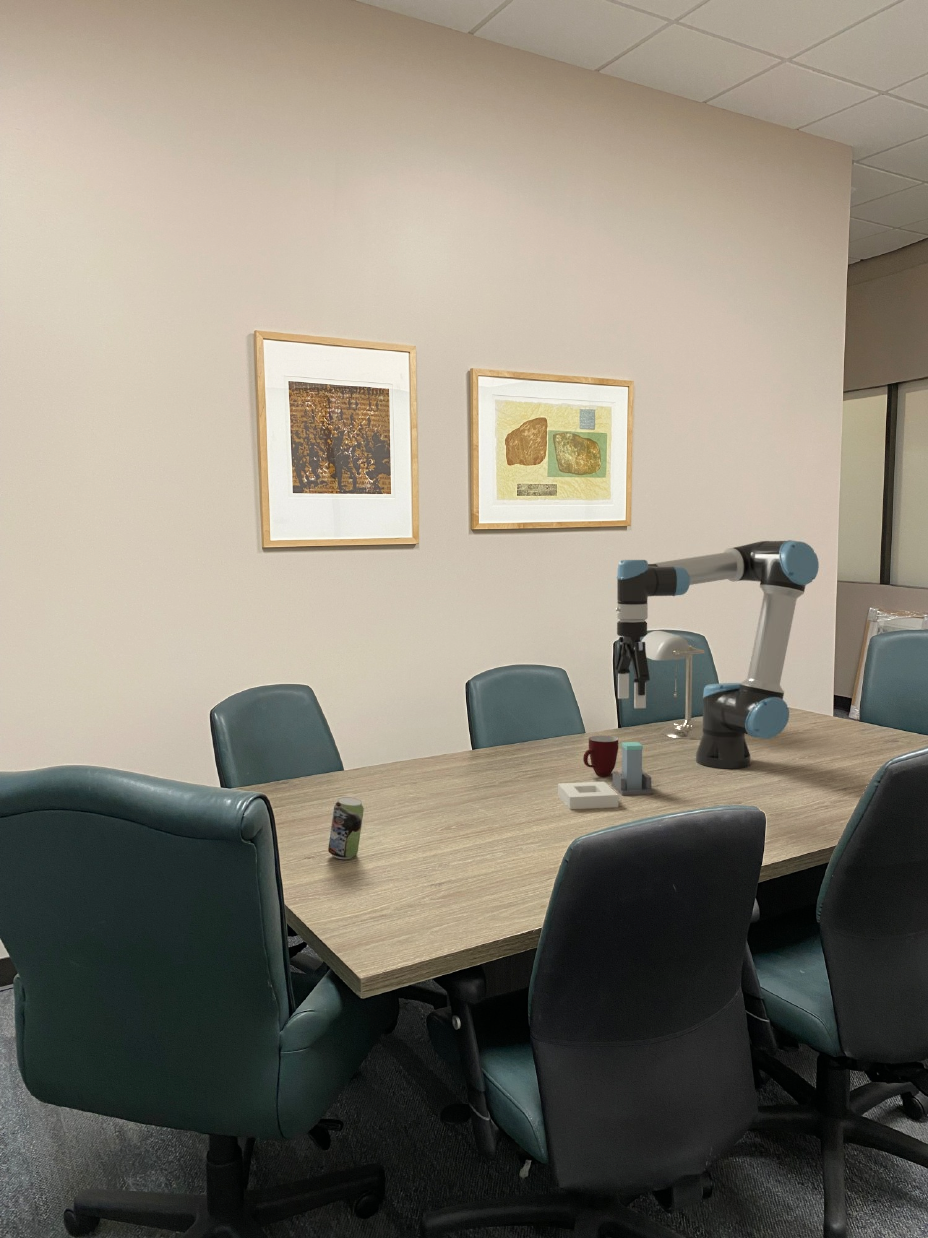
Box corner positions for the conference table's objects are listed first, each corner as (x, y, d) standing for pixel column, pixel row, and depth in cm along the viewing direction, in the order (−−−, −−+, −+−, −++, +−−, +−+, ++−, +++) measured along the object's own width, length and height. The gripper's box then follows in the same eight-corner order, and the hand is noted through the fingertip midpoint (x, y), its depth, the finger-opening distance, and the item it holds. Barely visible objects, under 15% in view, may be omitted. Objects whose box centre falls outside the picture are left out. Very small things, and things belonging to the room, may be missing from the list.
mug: (597, 781, 234) (597, 744, 233) (575, 775, 240) (576, 739, 239) (624, 775, 240) (624, 739, 239) (602, 769, 247) (603, 734, 246)
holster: (640, 784, 231) (640, 769, 231) (652, 794, 222) (652, 778, 222) (611, 785, 230) (611, 770, 230) (622, 795, 221) (622, 779, 221)
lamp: (631, 726, 303) (632, 629, 300) (699, 724, 306) (700, 628, 303) (656, 743, 277) (657, 637, 274) (730, 741, 280) (732, 636, 277)
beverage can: (329, 852, 182) (328, 795, 181) (364, 850, 182) (364, 794, 181) (327, 863, 176) (325, 804, 174) (364, 861, 176) (363, 803, 175)
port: (603, 793, 223) (603, 781, 223) (618, 807, 211) (618, 795, 211) (557, 795, 221) (557, 783, 221) (569, 809, 210) (569, 797, 209)
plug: (636, 787, 228) (637, 741, 227) (642, 791, 224) (642, 745, 223) (621, 787, 228) (621, 742, 227) (626, 792, 224) (626, 746, 223)
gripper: (603, 616, 234) (603, 695, 236) (633, 625, 210) (632, 712, 211) (631, 616, 235) (630, 694, 237) (663, 624, 211) (662, 711, 212)
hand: (631, 703), depth 224 cm, fingers open, 13 cm apart
